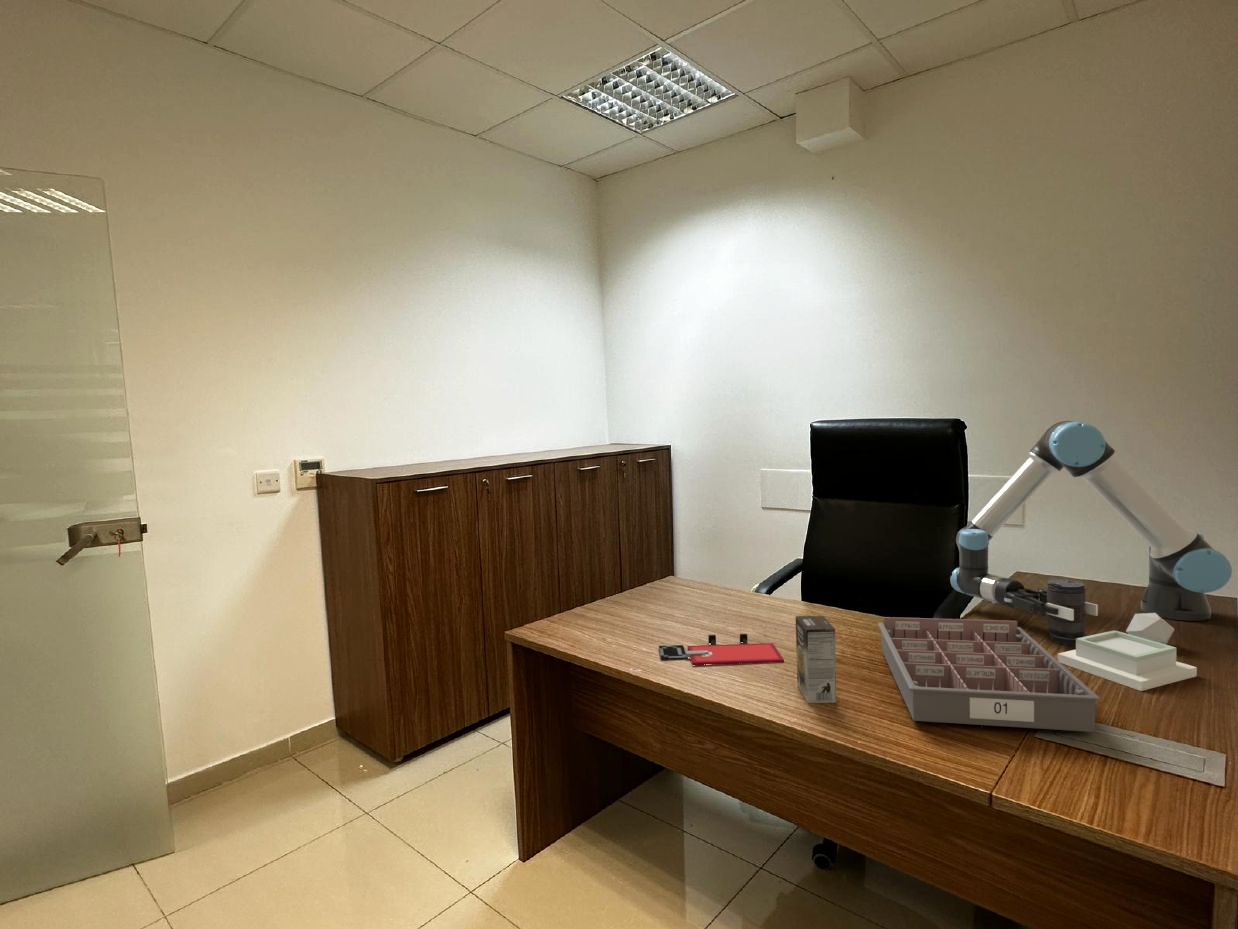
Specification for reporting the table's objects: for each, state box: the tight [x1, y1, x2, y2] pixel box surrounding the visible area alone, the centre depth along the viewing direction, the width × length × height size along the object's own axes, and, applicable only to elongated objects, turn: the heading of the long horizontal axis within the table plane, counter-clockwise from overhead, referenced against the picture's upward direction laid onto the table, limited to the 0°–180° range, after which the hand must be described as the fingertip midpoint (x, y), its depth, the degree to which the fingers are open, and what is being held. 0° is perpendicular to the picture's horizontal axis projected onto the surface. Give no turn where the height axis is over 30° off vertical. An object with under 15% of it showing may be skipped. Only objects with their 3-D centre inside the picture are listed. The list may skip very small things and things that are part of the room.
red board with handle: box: [658, 633, 785, 666], centre depth 168 cm, size 30×3×15 cm
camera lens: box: [1046, 579, 1087, 646], centre depth 166 cm, size 8×8×15 cm
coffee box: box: [795, 615, 837, 704], centre depth 141 cm, size 9×6×16 cm
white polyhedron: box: [1125, 612, 1175, 645], centre depth 161 cm, size 8×9×10 cm
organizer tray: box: [877, 616, 1102, 733], centre depth 140 cm, size 32×40×10 cm
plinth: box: [1057, 630, 1198, 692], centre depth 147 cm, size 18×18×6 cm
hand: (1084, 612), depth 162 cm, fingers closed on camera lens, 8 cm apart
